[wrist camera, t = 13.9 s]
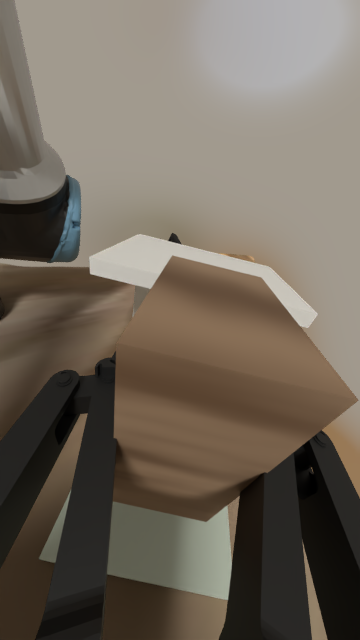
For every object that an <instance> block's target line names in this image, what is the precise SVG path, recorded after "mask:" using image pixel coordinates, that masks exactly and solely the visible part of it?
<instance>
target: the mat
mask: <svg viewBox="0 0 360 640" xmlns="http://www.w3.org/2000/svg"><path fill="white" fill-rule="evenodd" d="M70 493H71V491H70ZM70 493H69V495H68V497H67V499H66V501H65V504H64V506H63V508H62V510H61V512H60V514H59V516H58V519H57V521H56V523H55V525H54V527H53V529H52V531H51V534H50V536H49V538H48V540H47V542H46V544H45V546H44V549H43V551H42V553H41V555H40V557H39V559H40V560H43V561H48V562H52V563H55V562H56V557H57V552H58V548H59V543H60V539H61V534H62V529H63V525H64V520H65V516H66V511H67V507H68V502H69V497H70ZM231 569H232V562H231V548H230V535H229V521H228V508H227V506H226V507H225V508H223V509H222V510H221V511H220V512H218V513H217V514H216V515H215V516H213V517H212V518H211V519H210V520H208V521H207V522H204V521H199V520H195V519H190V518H186V517H181V516H177V515H172V514H168V513H163V512H159V511H154V510H149V509H145V508H140V507H136V506H131V505H127V504H122V503H118V502H113V504H112V517H111V530H110V543H109V556H108V569H107V574H108V575H113V576H117V577H122V578H127V579H131V580H136V581H141V582H145V583H150V584H154V585H159V586H164V587H168V588H173V589H178V590H182V591H187V592H192V593H196V594H201V595H206V596H210V597H215V598H220V599H224V600H228V595H229V586H230V578H231Z"/></svg>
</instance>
